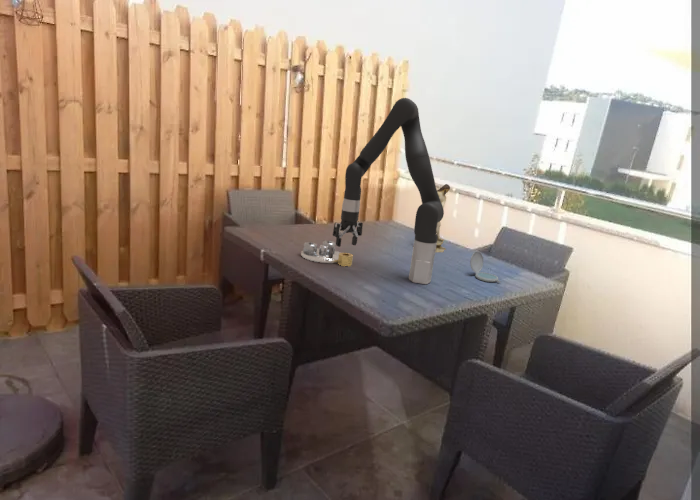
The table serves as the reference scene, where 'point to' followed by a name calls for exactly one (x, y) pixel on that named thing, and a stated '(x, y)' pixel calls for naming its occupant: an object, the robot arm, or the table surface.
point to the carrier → (320, 252)
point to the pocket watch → (477, 265)
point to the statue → (442, 197)
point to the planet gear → (345, 259)
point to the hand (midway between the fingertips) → (346, 245)
